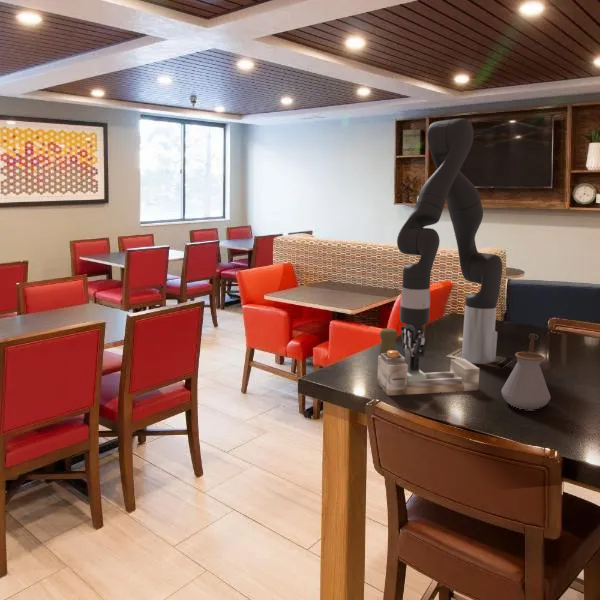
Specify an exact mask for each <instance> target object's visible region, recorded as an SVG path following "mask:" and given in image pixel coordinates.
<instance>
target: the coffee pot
mask: <svg viewBox="0 0 600 600" xmlns="http://www.w3.org/2000/svg"><path fill="white" fill-rule="evenodd" d="M536 337H537V338H536ZM528 338H529V343H528V351H518V352H515V354H514V356H515V357H516V361H517V362H516V364H515V365H514V367H513V369H512V371H511V373H510V374H509V376H508V378H506V379H507V380H506V381H505V383H504V384H503V386H502V388H501V395H502V397H503V399H504V400H505V402H507V403H509V404H510V405H511V406H510V407H512V406H513V407H512V408H514V407H516V408H515V409H517V408H519V409H518V410H521V409H525V410H524V411H534V410H533V409H539V408H540V407H541V408H543V407H545V406H546V405H547V404H549V402H550V400H551V398H552V397H551V394H550V391H549V389H548V386H547V382H546V379H545V376H544V374H543V371H542V369H541V366H540V364H541V363H542V362H543V360H544V359H545V356H544V355H542V354H541V353H537V352H534V347H535V341H536V340H537V339H538V338H539V335H537V334H535V333H534V332H533V333H530V334H529V336H528ZM509 404H508V405H509ZM541 408H540V409H541ZM526 409H528V410H526ZM540 409H539V410H540Z"/></svg>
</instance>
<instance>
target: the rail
mask: <svg viewBox="0 0 600 600" xmlns="http://www.w3.org/2000/svg"><path fill="white" fill-rule="evenodd" d="M377 363H378V364H377V377H376V378H377V382H376V385H378V386H379V388H380V387H381V388H382V389H381V388H380V389H381V390H382V391H383V392H384V393H385V394H386V395H387V396H403V395H421V394H423V395H424V394H437V393H440V392H441V393H452V392H453V393H454V392H455V393H457V392H456V391H458V392H473V391H474V392H475V391H479V381H480V367H477V366H476V364H474V363H470V362H468V361H467V360H465V359H462V358H454V359H450V367H449V368H450V369H449V371H435V372H424V373H425V374H426V375H427V377H426V381H411V382H408V381H407V371H408V365H407V364H406V363H405V356H403V355H402V354H401V353H400V352H399V358H387V353H383V354H381V356H379V355H378V356H377ZM441 393H440V394H441Z"/></svg>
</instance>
